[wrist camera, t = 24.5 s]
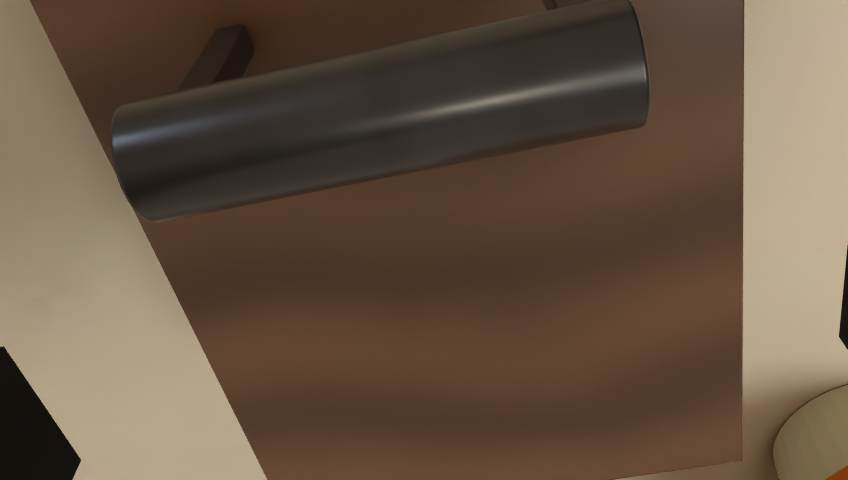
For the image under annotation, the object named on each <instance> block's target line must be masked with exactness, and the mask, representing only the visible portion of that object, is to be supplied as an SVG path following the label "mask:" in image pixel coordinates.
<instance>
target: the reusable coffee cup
mask: <svg viewBox="0 0 848 480" xmlns="http://www.w3.org/2000/svg"><path fill="white" fill-rule="evenodd" d="M773 459H774V464H775V467H776V471H777V474H778V477H779V480H848V385H845V386H842V387H839V388H836V389H834V390H831V391H828V392H826V393H824V394H822V395H820V396H818V397H816V398H814V399H813V400H811V401H810V402H808V403H807V404H805V405H804V406H802V407H801V408H799V409H798V410H797V411H796V412H795V413H794V414H793V415H792V416H791V417H790V418H789V419H788V420H787V421H786V422H785V424H784V425H783V426H782V428H781V429H780V431H779V433H778V435H777V437H776V439H775V442H774V447H773Z"/></svg>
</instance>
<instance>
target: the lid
mask: <svg viewBox="0 0 848 480" xmlns="http://www.w3.org/2000/svg"><path fill="white" fill-rule="evenodd" d="M30 2H31V4H32V6H33V8H34V10H35V12H36V14H37V16H38V18H39V20H40V22H41V24H42V26H43V28H44V30H45V32H46V34H47V36H48V38H49V40H50V42H51V44H52V46H53V48H54V50H55V52H56V54H57V56H58V58H59V60H60V62H61V64H62V66H63V68H64V70H65V72H66V74H67V76H68V78H69V80H70V82H71V84H72V86H73V88H74V90H75V92H76V94H77V96H78V98H79V100H80V102H81V104H82V107H83V109H84V111H85V113H86V115H87V117H88V119H89V121H90V123H91V125H92V127H93V129H94V131H95V133H96V135H97V137H98V139H99V141H100V143H101V145H102V147H103V149H104V151H105V153H106V155H107V157H108V159H109V161H110V163H111V165H112V167H113V169H114V171H115V173H116V175H117V178H118V181H119V183H120V186H121V188H122V190H123V192H124V194H125V196H126V198H127V200H128V201H129V203H130V205H131V206H132V207H133V209H134V211H135V213H136V215H137V217H138V219H139V221H140V223H141V226H142V228H143V230H144V232H145V234H146V236H147V238H148V240H149V242H150V244H151V246H152V248H153V250H154V252H155V254H156V256H157V258H158V260H159V262H160V264H161V266H162V268H163V270H164V272H165V274H166V276H167V278H168V280H169V282H170V284H171V286H172V288H173V290H174V292H175V294H176V296H177V298H178V300H179V302H180V304H181V306H182V308H183V310H184V312H185V314H186V316H187V318H188V320H189V322H190V324H191V326H192V328H193V330H194V332H195V334H196V336H197V338H198V340H199V342H200V344H201V347H202V349H203V351H204V353H205V355H206V357H207V359H208V361H209V363H210V365H211V367H212V369H213V371H214V373H215V375H216V377H217V379H218V381H219V383H220V385H221V387H222V389H223V391H224V393H225V395H226V397H227V399H228V401H229V403H230V405H231V407H232V409H233V411H234V413H235V415H236V417H237V419H238V421H239V423H240V425H241V427H242V429H243V431H244V433H245V435H246V437H247V439H248V441H249V443H250V445H251V447H252V449H253V451H254V453H255V455H256V457H257V459H258V461H259V463H260V466H261V468H262V470H263V472H264V474H265V476H266V478H267V480H614V479H620V478H627V477H634V476H641V475H648V474H654V473H661V472H668V471H675V470H681V469H688V468H695V467H702V466H708V465H715V464H722V463H729V462H736V461H741V460H742V349H743V141H744V0H30Z"/></svg>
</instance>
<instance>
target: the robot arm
mask: <svg viewBox="0 0 848 480" xmlns="http://www.w3.org/2000/svg"><path fill="white" fill-rule="evenodd" d="M839 337H840V339H841V340H842V342H843V343H844V345H845V346H846V348H847V349H848V247H847V258H846V268H845V279H844V289H843V300H842V311H841V321H840V332H839ZM80 461H81V459H80V458H79V456H78V455H77V453H76V452H75V450H74V449H73V447H72V446H71V444H70V443H69V442H68V440H67V439H66V437H65V436H64V434H63V433H62V431H61V430H60V428H59V427H58V425H57V424H56V422H55V421H54V420H53V418H52V417H51V415H50V414H49V412H48V411H47V409H46V408H45V406H44V405H43V403H42V402H41V400H40V399H39V397H38V396H37V395H36V393H35V392H34V390H33V389H32V387H31V386H30V384H29V383H28V381H27V380H26V378H25V377H24V375H23V374H22V373H21V371H20V370H19V368H18V367H17V365H16V364H15V362H14V361H13V359H12V358H11V356H10V355H9V353H8V352H7V350H6V349H5V348H4V346H3V347H0V480H72V479H73V477H74V475H75V473H76V470H77V468H78V466H79V464H80Z"/></svg>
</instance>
